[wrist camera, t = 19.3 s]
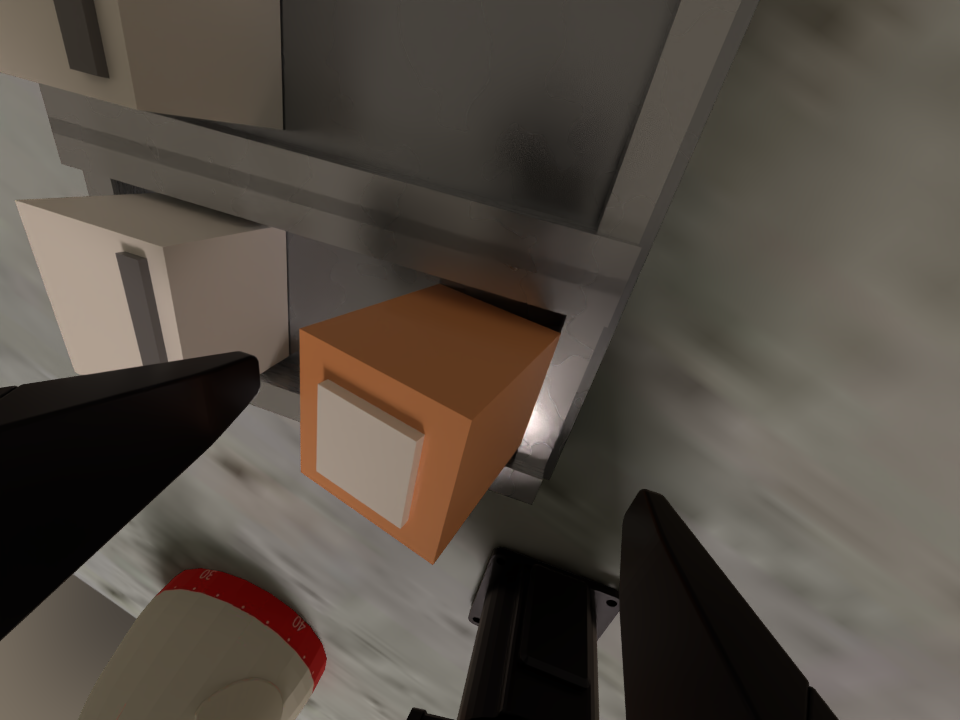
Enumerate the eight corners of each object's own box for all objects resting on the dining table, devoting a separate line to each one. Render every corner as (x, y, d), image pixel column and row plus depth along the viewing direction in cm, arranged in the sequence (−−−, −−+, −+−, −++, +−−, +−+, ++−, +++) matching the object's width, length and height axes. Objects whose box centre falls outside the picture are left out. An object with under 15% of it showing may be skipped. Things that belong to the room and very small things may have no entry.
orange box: (521, 443, 12) (426, 574, 8) (420, 390, 14) (292, 478, 9) (561, 333, 10) (464, 428, 6) (439, 283, 12) (288, 331, 7)
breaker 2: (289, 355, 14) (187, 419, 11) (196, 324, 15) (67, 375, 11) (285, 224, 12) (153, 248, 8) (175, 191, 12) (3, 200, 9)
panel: (553, 445, 16) (545, 512, 13) (184, 321, 18) (100, 352, 14) (1001, -621, 6) (1505, -1580, 3) (18, -650, 7) (-376, -1222, 4)
